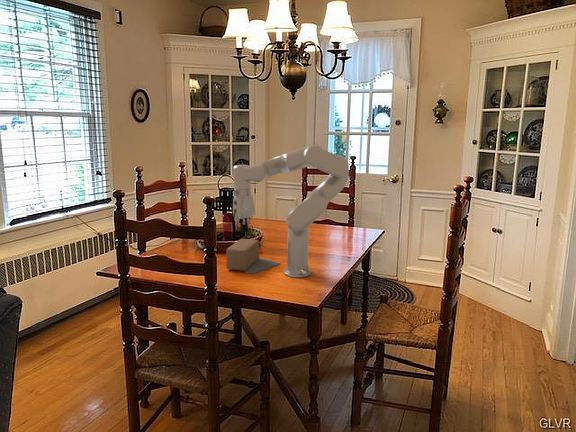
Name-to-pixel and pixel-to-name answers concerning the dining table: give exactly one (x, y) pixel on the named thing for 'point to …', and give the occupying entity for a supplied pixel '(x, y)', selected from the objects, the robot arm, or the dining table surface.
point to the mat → (260, 266)
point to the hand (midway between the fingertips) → (244, 232)
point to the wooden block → (242, 254)
